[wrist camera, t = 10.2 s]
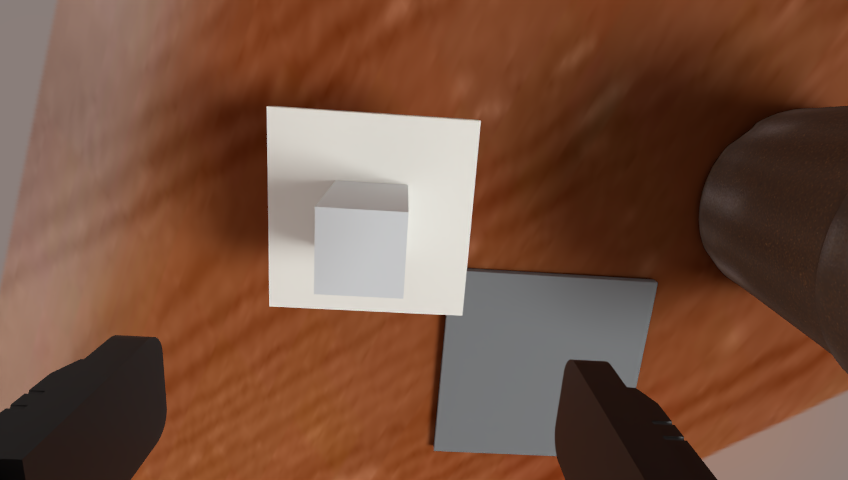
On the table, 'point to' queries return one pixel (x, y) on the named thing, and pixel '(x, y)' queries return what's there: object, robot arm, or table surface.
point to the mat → (531, 353)
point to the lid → (369, 210)
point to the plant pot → (786, 220)
